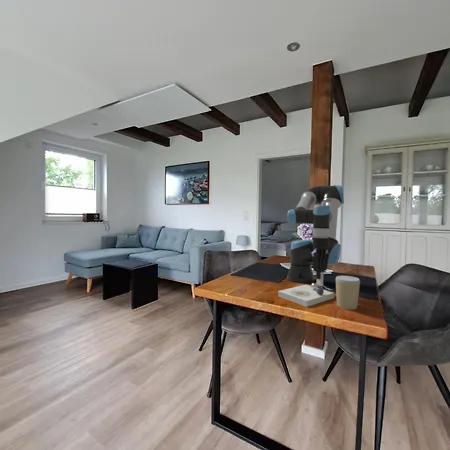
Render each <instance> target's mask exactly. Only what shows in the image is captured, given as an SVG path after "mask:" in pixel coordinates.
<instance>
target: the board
mask: <svg viewBox="0 0 450 450" xmlns="http://www.w3.org/2000/svg"><path fill="white" fill-rule="evenodd" d="M318 288H319V287H318ZM318 288H317V289H318ZM317 289H316V290H313V289H312V288H311V284H310V285H309V284H303V285H298V286H294V287H289V288H285V289H281V290H278V291H277V293H278V294H277V295H278V297H279V298H281V299H284V300H286V301H289V302H293V303H294V304H298V305H300V306H303V307H306V308H308V307H311V306H314V305H317V304H320V303H323V302H326V301H329V300H333V299H335V292H333V291H330V290H328V289H327V290H326V289H323V291H324V293H323V294H322V295H319V294H318V293H317Z"/></svg>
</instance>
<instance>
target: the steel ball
mask: <svg viewBox="0 0 450 450" xmlns="http://www.w3.org/2000/svg"><path fill="white" fill-rule="evenodd" d="M310 286H311V288H312V289H313V290H316V289H317V288H319V285H317V284H316V282H311V284H310Z"/></svg>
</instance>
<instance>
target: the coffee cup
mask: <svg viewBox="0 0 450 450" xmlns="http://www.w3.org/2000/svg"><path fill="white" fill-rule="evenodd" d="M360 284H361V280H360V278H358V277H355V276H351V275H337V276H336V277H335V293H336V294H335V295H336V306H337V307H339V308H341V309H343V310H351V311H352V310H357V308H358V305H359V293H360Z"/></svg>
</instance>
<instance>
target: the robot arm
mask: <svg viewBox="0 0 450 450" xmlns="http://www.w3.org/2000/svg"><path fill="white" fill-rule="evenodd" d="M344 201H345V198H344V188H343V186H342V185H339V184H338V185H336V184H334V185H315V186H312V187H310V188H308V189H306V190H304V191H303V192H302V194H301V196H300V200H299V202H298V204H297V205H296V207H295V208H293V209H289V210H288V211H287V214H286V215H287V216H286V217H287V222H288V223H289V224H309V225H312V239H299V240H298V239H297V240H293V241H291V244H290V266H289V269H288V273H287V274H286V275H287V281H290V282H293V283H300V284H301V283H303V284H306V283H314V282H315V276H316V282H315V283H316V284H317V285H318V287H323V286H324V275H325V274H324V273H326V272H327V269H328V265H329V266H330V265H332V266H333V265H337V264H338V262H339V261H340V256H341V252H342V251H341V249H342V245H341V244H340V243H339V241H338V239H337V230H338V229H337V227H338V213H339V208H341V206H342V205H343V204H344ZM313 205H314V206H313ZM312 206H313V209H312ZM314 272H316V275H314Z"/></svg>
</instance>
